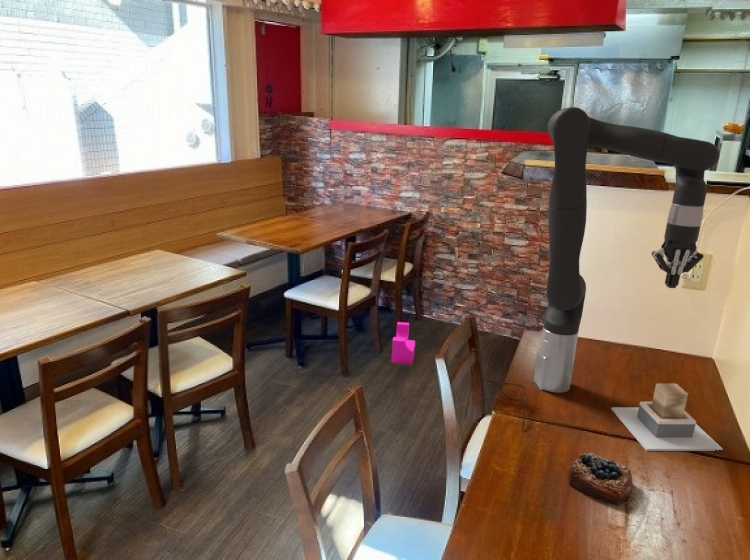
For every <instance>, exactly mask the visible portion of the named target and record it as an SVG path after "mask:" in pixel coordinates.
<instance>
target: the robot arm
mask: <svg viewBox="0 0 750 560" xmlns="http://www.w3.org/2000/svg"><path fill="white" fill-rule="evenodd" d="M547 133H548V135H549V137H550V139H551V140H552V142H553V149H554V150H553V151H554V171H553V177H552V181H551V184H550V190H549V191H550V192H549V198H548V216H547V217H548V218H547V219H548V221H547V222H548V245H549V247H548V248H549V267H548V274H547V283H546V289H545V294H546V298H547V301H548V303H547V308H546V312H545V314H544V315H545V316H544V318H543V325H542V326H543V327H542V335H541V341H540V342H541V343H540V349H537V352H536V359H535V367H534V368H535V369H534V376H533V381H534V382H535V384H536V386H537V387H538V388H539V390H541V391H547V392H550V393H556V394H557V393H558V394H559V393H566V392H568V391H569V390H570V388H571V383H572V377H573V376H572V375H573V371H574V370H573V369H574V362H575V357H576V350H577V344H578V343H577V342H578V336H579V331H580V325H581V322H582V321H581V320H582V317H583V311H584V305H585V300H586V293H587V284H586V281H585V279H584V277H583V275H581V274H580V259H581V258H580V257H581V251H582V247H583V242H584V238H585V231H586V224H587V213H588V212H587V206H588V205H587V204H588V203H587V202H588V201H587V199H588V198H587V192H588V191H587V188H588V187H587V172H586V171H587V169H586V165H587V155H588V147H595V148H601V149H605V150H608V151H612V152H616V153H620V154H623V155H626V156H630V157H634V158H639V159H643V160H645V161H646V160H647V161H651V162H657V163H663V164H665V163H666V164H670V165H673V166H675V187H674V190H673V195H672V196H673V197H672V200H671V206H670V208H669V210H668V211H669V212H668V214H667V215H668V216H667V222H666V225H665V232H664V238H663V239H664V241H663V243H662V244H661V248H659V249H658V250H653V251H651V256H652V257H653V259H654V261H655V262H656V264H657V266H658V267H659V270H661V271H663V272H665V273H666V275H665V279H664V285H665V286H666V287H667V288H669V289H676V288H677V287H678V286H679V283H680V278H681V275H682V274H684V273H685V274H687V273H689V272H690V271H691V270H692V269H693V268H694V267H695V266H696V265H697V264H698V263H700V261H701V260H702V259H704V254H702V253H701V252H699V251H698V250H697V248H698V247H697V242H698V241H699V237H700V232H701V227H702V221H703V217H704V207H705V201H706V199H707V198H706V197H707V193H708V185H707V183H706V181H705V171H708V170H710V169H712V168H714V166H716V164H717V163H718V161H719V159H720V152H719V149H718V147H717V146H716V145H715V144H714V143H712V142H709V141H706V140H700V139H695V138H688V137H681V136H677V135H674V134H671V133H669V132H668V133H667V132H663V131H659V130H654V129H650V128H645V127H638V126H632V125H631V126H629V125H622V124H617V123H616V124H615V123H610V122H607V121H602V120H598V119H595V118H593V117H590V116H589V115H588V113H586V111H585V110H583V109H582V108H580V107H575V106H570V107H563V108H561V109H559V110H557V111H556V112H555V113H553V114H552V116H551V117H550V119H549V120H548V123H547ZM664 258H666V259H664Z"/></svg>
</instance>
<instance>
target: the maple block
mask: <svg viewBox="0 0 750 560" xmlns="http://www.w3.org/2000/svg"><path fill="white" fill-rule="evenodd" d="M688 395H689V393H688V392H686V391H685V390H684V389H683V388H682V387H681V386H679V384H677V383H656V384H655V388H654V393H653V398H652V401H651V402H652V406H651V409H652V410H653V411H654V412H655V413H656V414H657V415H658V416H659V417H660V418H661V419H682V418H683V414H684V411H685V409H686V405H687V401H688Z"/></svg>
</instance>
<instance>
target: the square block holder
mask: <svg viewBox="0 0 750 560" xmlns="http://www.w3.org/2000/svg"><path fill="white" fill-rule="evenodd" d="M651 406H652V401H639V406H638V407H630V406H628V407H623V406H622V407H621V406H620V407H617V406H616V407H611V411H612V413H614V415H616V417H617V418H618V419H619V420H620V422H622V424H623V425H624V426H625V427H626V428H627V430H628V431H629V432H630V433H631V434H632V436H634V438H635V439H636V440H637V441H638V443H639V444H640V445H641V446H642V447H643V448H644V449H645V451H646V452H652V451H653V452H667V451H668V452H680V451H681V452H691V451H693V452H695V451H697V452H701V451H702V452H703V451H704V452H711V451H713V452H715V450H717V452H719V451H718V450H722V451H723V450H724V449H723V447H722V446H721V445H719V444H718V443H717V442H716V441H715V440H714V439H713V438H712V437H711V436H710V435H708V434H707V433H706V432H705V430H703V429H702V428H701V427H700V426H699V425H698V424H697V420H695V419H694V418H693V417H692V416H691V415H690V414H689V413H688V412H687V411H685V410H684V414H683V418H682V419H661V418H660V417H659V416H658V415H657V414H656V413H655V412H654V411H653V410H652V409H651Z"/></svg>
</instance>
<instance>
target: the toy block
mask: <svg viewBox="0 0 750 560" xmlns="http://www.w3.org/2000/svg"><path fill="white" fill-rule="evenodd" d="M395 333H396V335H395V336H393V338H392V344H391V349H392V350H391V363H393V364H402V365H413V361H414V357H415V356H414V355H415V349H416V340H413V339H409V333H410V322H402V321H397V324H396V332H395Z"/></svg>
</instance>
